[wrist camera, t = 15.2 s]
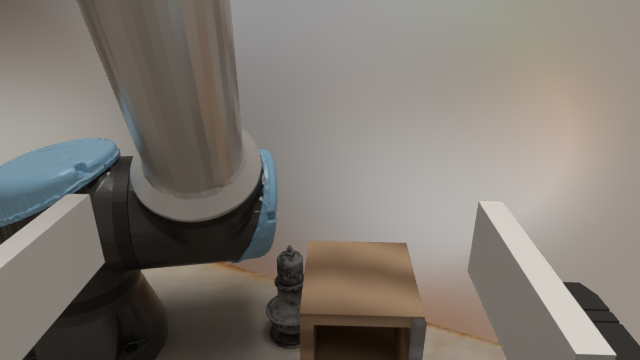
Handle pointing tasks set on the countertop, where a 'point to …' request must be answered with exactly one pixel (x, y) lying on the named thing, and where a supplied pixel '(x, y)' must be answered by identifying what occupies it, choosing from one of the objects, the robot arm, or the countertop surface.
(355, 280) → the cabinet
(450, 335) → the countertop surface
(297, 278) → the salt shaker
